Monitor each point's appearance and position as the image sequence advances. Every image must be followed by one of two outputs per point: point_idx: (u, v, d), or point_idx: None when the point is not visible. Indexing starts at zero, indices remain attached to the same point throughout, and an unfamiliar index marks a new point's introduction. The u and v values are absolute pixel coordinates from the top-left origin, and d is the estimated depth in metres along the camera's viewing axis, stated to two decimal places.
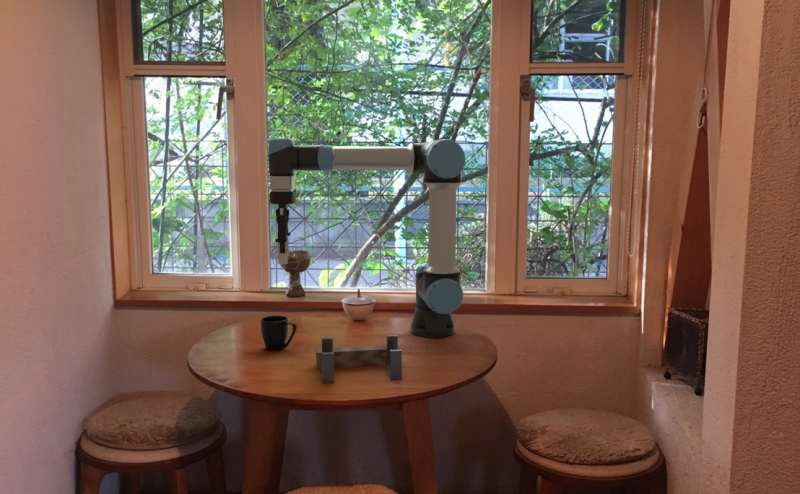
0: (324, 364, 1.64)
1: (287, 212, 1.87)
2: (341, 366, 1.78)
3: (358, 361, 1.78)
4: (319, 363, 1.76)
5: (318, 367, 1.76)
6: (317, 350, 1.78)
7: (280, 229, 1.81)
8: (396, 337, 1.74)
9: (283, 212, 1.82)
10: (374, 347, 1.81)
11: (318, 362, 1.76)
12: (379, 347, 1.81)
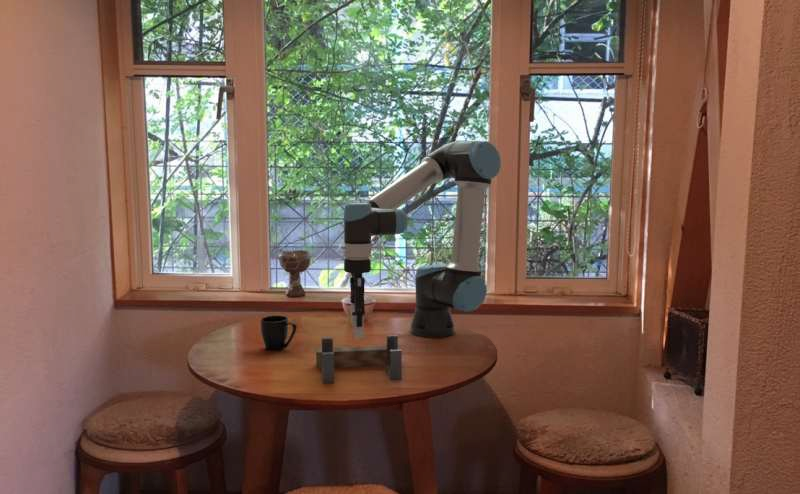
0: (324, 364, 1.64)
1: None
2: (341, 366, 1.78)
3: (357, 361, 1.78)
4: (319, 363, 1.77)
5: (318, 367, 1.77)
6: (317, 350, 1.78)
7: (358, 302, 1.69)
8: (396, 337, 1.74)
9: (361, 283, 1.70)
10: (374, 347, 1.81)
11: (318, 362, 1.77)
12: (379, 347, 1.81)
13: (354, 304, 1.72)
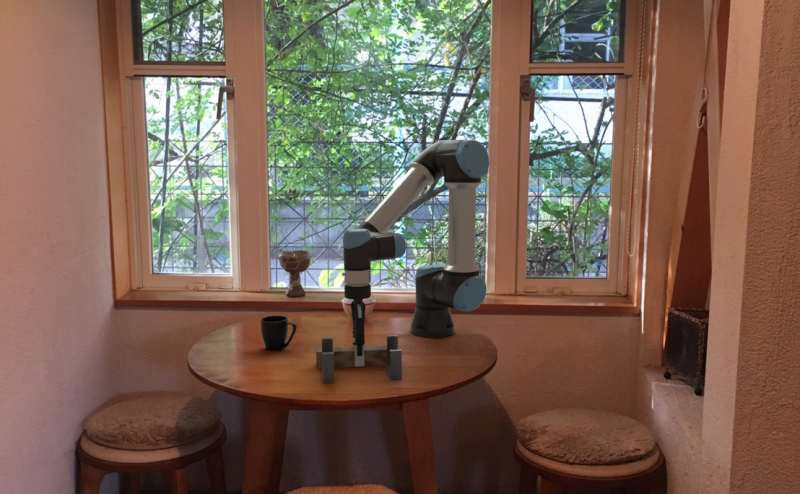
0: (324, 364, 1.64)
1: (363, 308, 1.76)
2: (341, 366, 1.78)
3: None
4: (318, 362, 1.77)
5: (318, 366, 1.77)
6: (317, 349, 1.79)
7: (358, 333, 1.73)
8: (396, 337, 1.74)
9: (361, 316, 1.72)
10: (374, 347, 1.81)
11: (318, 361, 1.77)
12: (379, 347, 1.81)
13: None
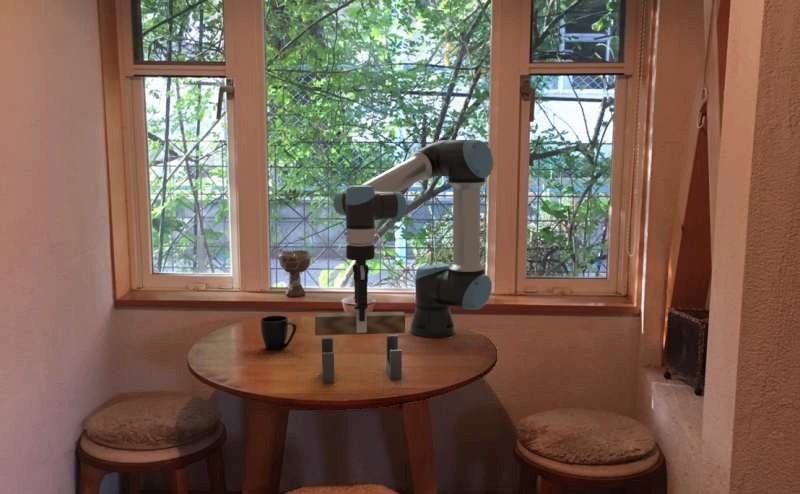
0: (324, 364, 1.64)
1: (366, 270, 1.65)
2: (341, 332, 1.66)
3: None
4: (317, 328, 1.65)
5: (317, 332, 1.65)
6: (316, 314, 1.67)
7: (361, 296, 1.62)
8: (396, 337, 1.74)
9: (364, 277, 1.61)
10: (377, 313, 1.69)
11: (317, 327, 1.65)
12: (382, 313, 1.69)
13: (356, 296, 1.65)
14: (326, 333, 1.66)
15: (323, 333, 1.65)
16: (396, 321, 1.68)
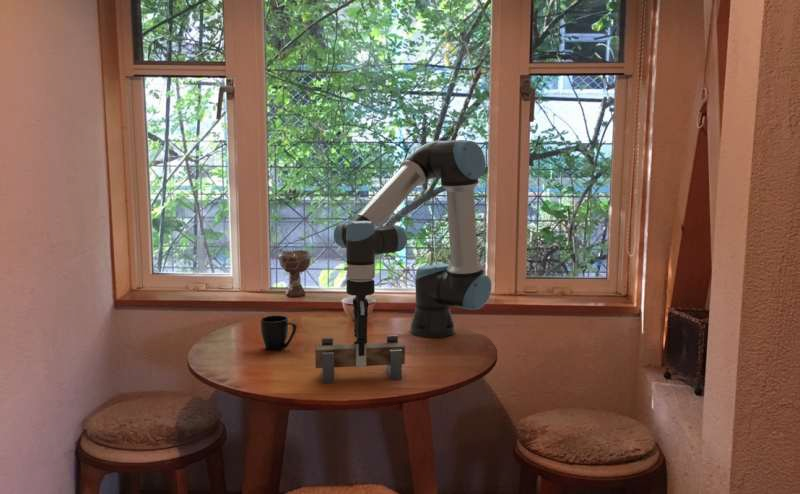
0: (324, 364, 1.64)
1: (366, 305, 1.66)
2: (341, 364, 1.67)
3: None
4: (318, 361, 1.66)
5: (317, 365, 1.66)
6: (316, 347, 1.68)
7: (360, 332, 1.63)
8: (396, 337, 1.74)
9: (364, 313, 1.62)
10: (377, 344, 1.70)
11: (317, 360, 1.66)
12: (382, 345, 1.70)
13: None
14: None
15: None
16: None
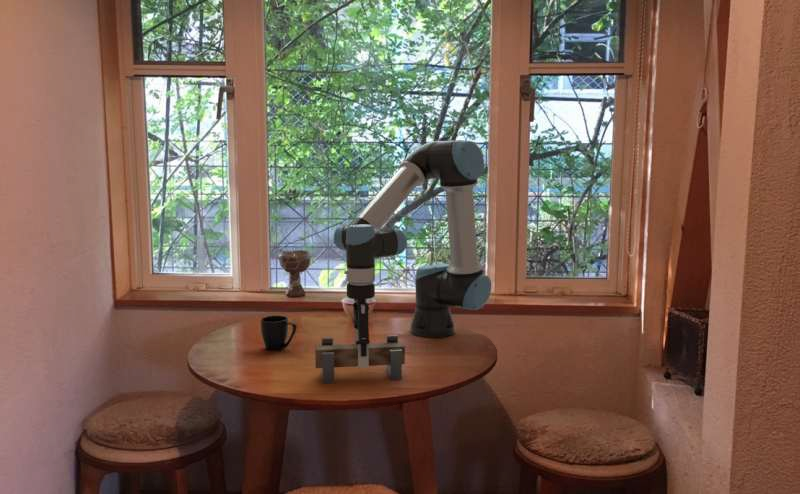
0: (324, 364, 1.64)
1: None
2: (341, 364, 1.67)
3: None
4: (318, 361, 1.66)
5: (317, 365, 1.66)
6: (316, 347, 1.68)
7: (362, 330, 1.60)
8: (396, 337, 1.74)
9: (365, 310, 1.61)
10: (377, 344, 1.70)
11: (317, 360, 1.66)
12: (382, 345, 1.70)
13: (358, 332, 1.63)
14: None
15: None
16: None
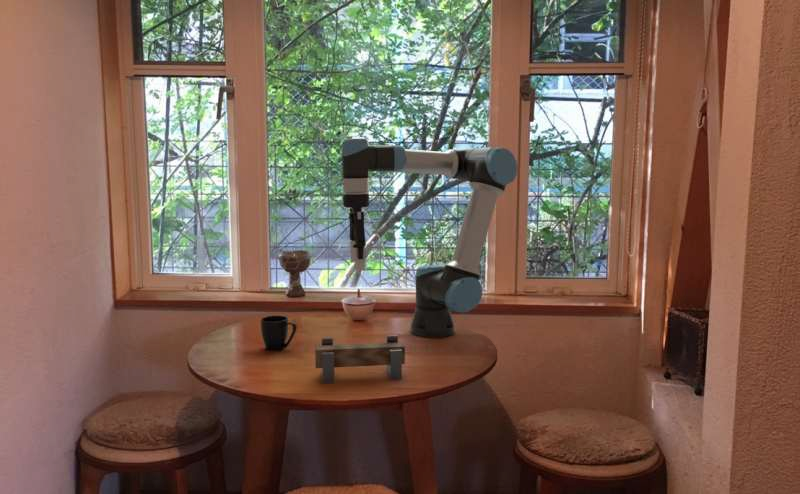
0: (324, 364, 1.64)
1: None
2: (341, 364, 1.67)
3: (359, 360, 1.68)
4: (318, 361, 1.66)
5: (317, 365, 1.66)
6: (316, 347, 1.68)
7: (359, 234, 1.72)
8: (396, 337, 1.74)
9: (361, 216, 1.73)
10: (377, 344, 1.70)
11: (317, 360, 1.66)
12: (382, 345, 1.70)
13: (354, 237, 1.75)
14: None
15: None
16: None
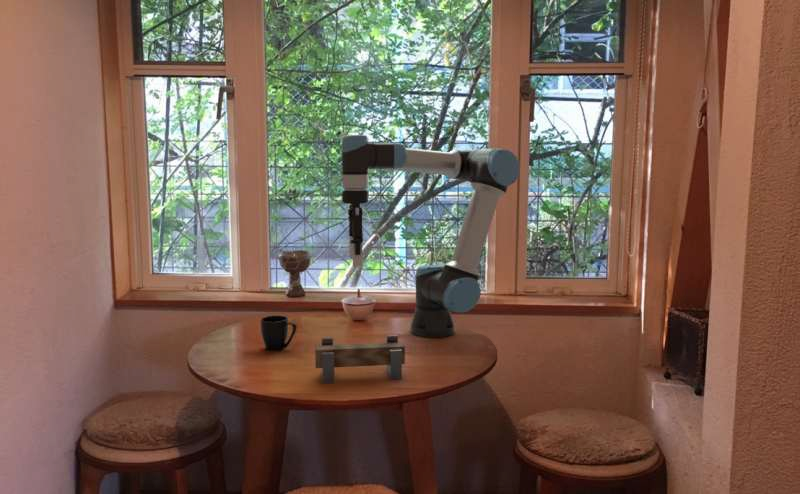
0: (324, 364, 1.64)
1: None
2: (341, 364, 1.67)
3: (359, 360, 1.68)
4: (318, 361, 1.66)
5: (317, 365, 1.66)
6: (316, 347, 1.68)
7: (356, 230, 1.73)
8: (396, 337, 1.74)
9: (359, 212, 1.75)
10: (377, 344, 1.70)
11: (317, 360, 1.66)
12: (382, 345, 1.70)
13: None
14: None
15: None
16: None
